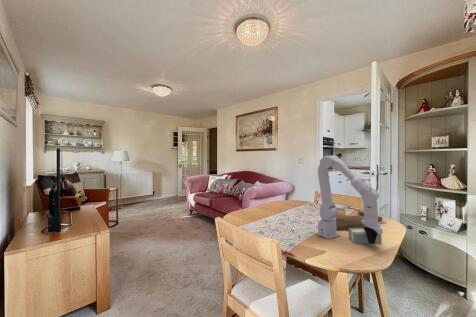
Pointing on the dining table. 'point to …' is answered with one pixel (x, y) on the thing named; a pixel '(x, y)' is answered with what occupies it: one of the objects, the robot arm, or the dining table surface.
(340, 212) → the plant pot
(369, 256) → the dining table surface
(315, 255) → the dining table surface
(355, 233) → the carton
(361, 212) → the packaged product
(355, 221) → the display podium
